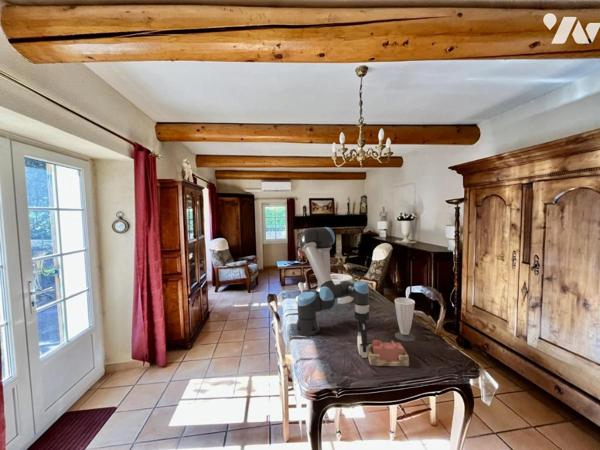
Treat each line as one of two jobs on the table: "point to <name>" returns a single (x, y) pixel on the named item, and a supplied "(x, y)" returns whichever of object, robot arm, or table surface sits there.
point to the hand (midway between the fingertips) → (362, 350)
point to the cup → (404, 318)
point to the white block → (359, 344)
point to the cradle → (375, 360)
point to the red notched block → (387, 350)
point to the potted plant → (301, 287)
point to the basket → (337, 280)
